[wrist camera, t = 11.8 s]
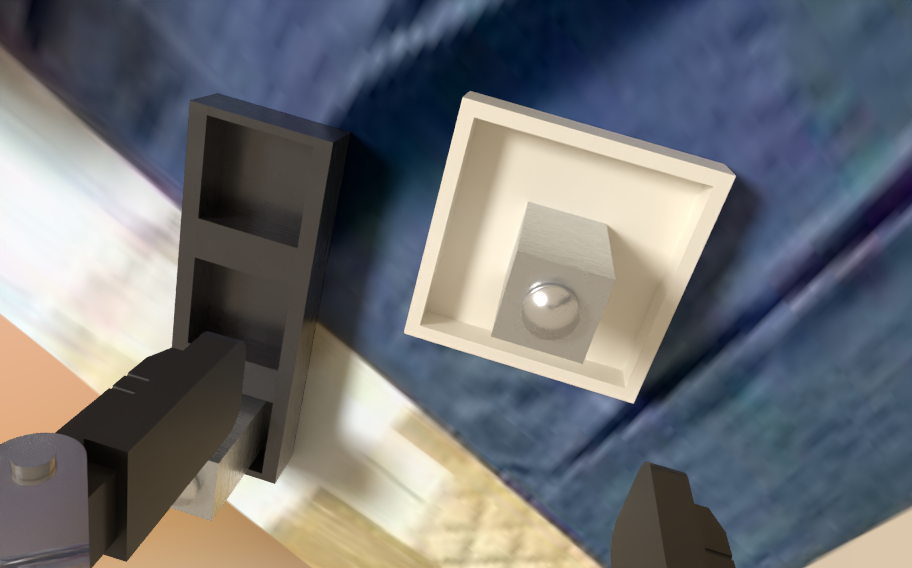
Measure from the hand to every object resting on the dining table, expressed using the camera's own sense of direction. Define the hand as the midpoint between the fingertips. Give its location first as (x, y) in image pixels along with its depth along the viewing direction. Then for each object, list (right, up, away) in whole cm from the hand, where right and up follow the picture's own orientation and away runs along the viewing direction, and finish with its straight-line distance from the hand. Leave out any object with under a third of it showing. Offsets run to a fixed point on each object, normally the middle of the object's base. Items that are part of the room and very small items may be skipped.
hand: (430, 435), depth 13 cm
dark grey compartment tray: (-12, +2, +29) cm, 32 cm away
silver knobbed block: (+6, +5, +24) cm, 25 cm away
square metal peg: (-14, -5, +32) cm, 36 cm away
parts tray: (+6, +5, +25) cm, 26 cm away
